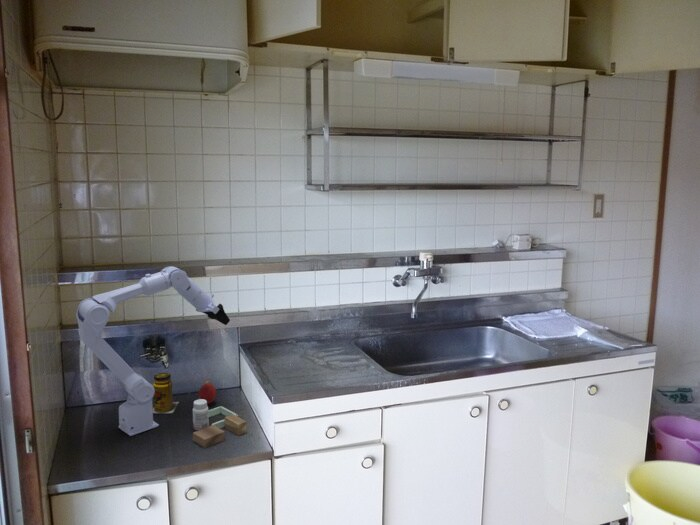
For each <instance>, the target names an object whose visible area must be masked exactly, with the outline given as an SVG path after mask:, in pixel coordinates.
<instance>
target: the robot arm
mask: <svg viewBox="0 0 700 525" xmlns="http://www.w3.org/2000/svg"><path fill="white" fill-rule="evenodd" d="M170 288H173V289H174V290H175V291H176V292H177V294H179V295H180V296H181V297H182V298H183V299H184V300H186V301H187V302H188V303H189V304H190V305H192V306H193V307H194V308H195V311H196V312H199V313H203V314H205V315H207V318H209V319H211V320H215V321H218V322H219V323H221V324H223V325H225V326H227V325H228V324H229V323H230V321H231V319H230V318H229V316H228V315H227V313H226V312H225V309H224V305H223V304H222V303H218V305H217V306H216V304H215V300H214V299H213V298H214V297H215V296H214V295H215V294H213V293H212V292H211V293H209V294H208V293H207V292H206V291H205V290H203V289H202V288H201V286H199V285H198V284H197V283H196V282H195V281H193V279H191V278H190V277H189V276H188V274H187V273H186V271H185V270H183V269H181V268H178V267H176V266H172V265H171V266H170V265H169V266H166V267H164V268H163V269H161V271H159V272H155V273H152V274H151V273H146V274H145V276H143V277H141V278H140V279H139V281H138V283H135V284H131V285H128V286H124V287H121V288H117V289H114V290H110V291H107V292H103V293H98V294H95V295H93V296H92V297H90V298H85V299H83V300H81V301H80V303H79V304H78V307H77V309H76V315H75V317H76V319H77V325H78V332H79V339H80V341H81V342H82V343H83V344H84V345H85V346H86V347H87V348H88V349H89V350H90V351H91V352H92V353H93V354H94V355H95V356H96V357H97V358H98V359H99V360H100V361H101V362H102V363H103V364H104V365H105V367H107V368H108V369H109V370H110V371H111V372H112V373H113V375H115V376H116V378H118V379H119V380H120V381H121V382H122V384H123V386H124V390H125V391H126V392H127V393H128V394H127V399H126V401H125V402H123V403H121V404H120V405H119V406H118V424H119V425H118V428H119V429H120V430H121V431H122V432H124V433H125V434H127V435H128V436H129V437H131V436H135V435H138V434H140V433H143V432H146V431H149V430H152V429H154V428H157V427H159V426H160V424H159V423H158V422H156V421H154V413H153V408H154V404H153V399H154V397H153V396H154V393H155V389H154V387H153V383H150V382H149V381H148V380H147V379H145V378H144V376H143V375H142V374H139V373H136V372H135V371H134V369H132V368H131V366H130V365H128V364H127V362H126V361H125V360H124V359H123V358H122V356H120V355H119V354H118V353H117V352H116V351H115V349H113V348H112V347H111V345H110V344H109V343H108V342H106V341H105V339H104V338H103V337H102V333H103V331H104V328H105V327H106V325H107V323H108V321H110V320H109V319H110V317H111V316H110V315H111V313H112V314H113V313H115V310H116V308H117V306H118V304H121V303H123V302H125V301H128V300H130V299H132V298H135V297H137V296H140V295H145V296H147V297H149V296H152V295H155V294H157V293H161V292H163V291H166V290H169V289H170Z"/></svg>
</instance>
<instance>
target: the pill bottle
mask: <svg viewBox="0 0 700 525" xmlns="http://www.w3.org/2000/svg"><path fill="white" fill-rule="evenodd" d="M208 410H209V406H208V404H207V401H206V400H205V399H200V398H198V399H196V400H194V401H193V408H192V428H193V429H194V430H196V431H199V430H201V429H204V428H206V427H209V426H210V420H209V418H210V417H209V415H208Z"/></svg>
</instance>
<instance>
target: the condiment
mask: <svg viewBox="0 0 700 525" xmlns="http://www.w3.org/2000/svg"><path fill="white" fill-rule="evenodd" d="M171 377H172V375H171V374H170V373H169V372H158V373H156V374H154V376H153V383H152V385H153V387H154V389H155V393H154V396H153V414H174V412H175V410H176V408H177V407H178V405H179V403H180V402H179V401H174V396H173V381H172V379H171ZM173 406H174V407H173Z"/></svg>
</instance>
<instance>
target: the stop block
mask: <svg viewBox="0 0 700 525" xmlns="http://www.w3.org/2000/svg"><path fill="white" fill-rule="evenodd" d="M224 419H225V427H224V428H225V430H226V429H227V430H228V431H230V432H231V433H233V434H235V435H237V436H241V435H243V434H246V433H247V420H244V419H243V418H240V417H237V416H235V415H233V414H232V415H229V416H224Z"/></svg>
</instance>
